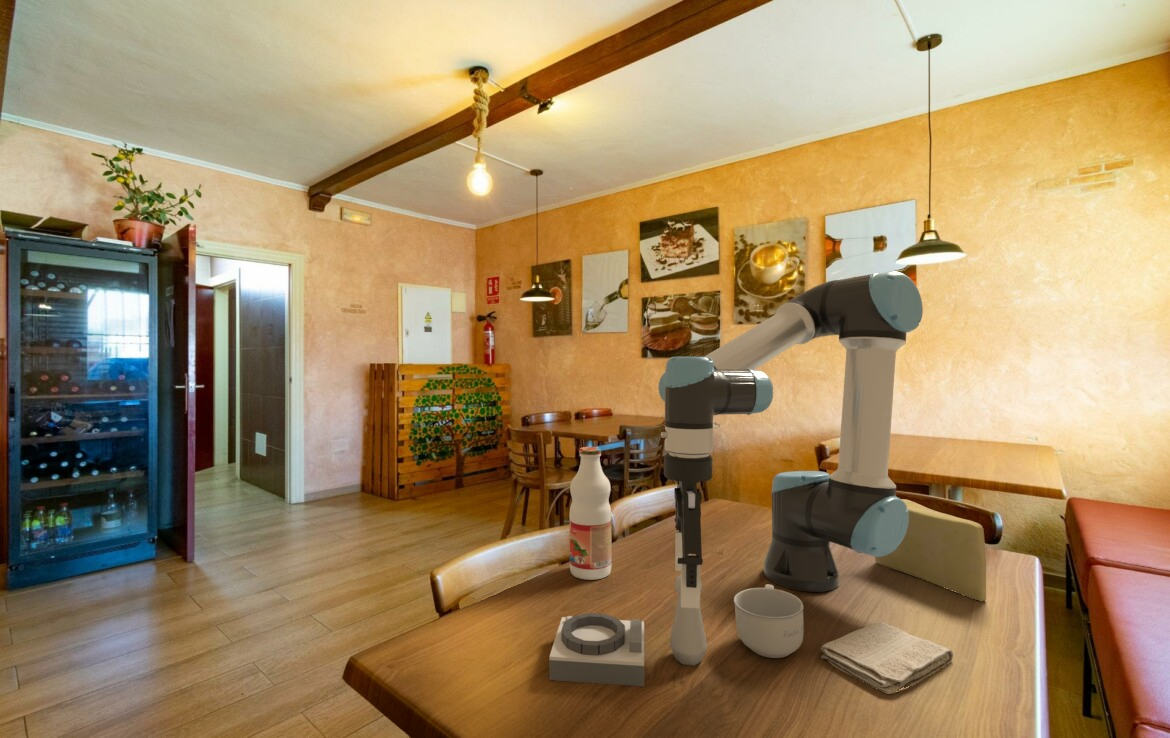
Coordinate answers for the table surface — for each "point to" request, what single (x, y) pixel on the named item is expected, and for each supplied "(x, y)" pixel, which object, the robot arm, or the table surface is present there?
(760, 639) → the teacup
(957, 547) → the cheese
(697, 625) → the bowling pin
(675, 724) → the table surface
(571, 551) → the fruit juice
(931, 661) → the washcloth
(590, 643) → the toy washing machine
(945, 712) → the table surface
